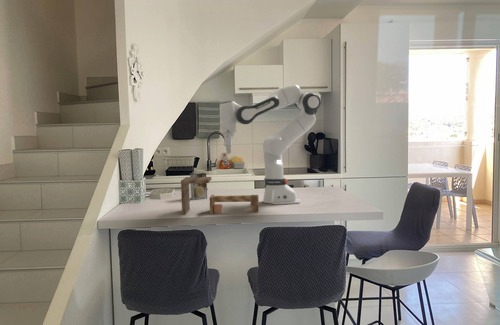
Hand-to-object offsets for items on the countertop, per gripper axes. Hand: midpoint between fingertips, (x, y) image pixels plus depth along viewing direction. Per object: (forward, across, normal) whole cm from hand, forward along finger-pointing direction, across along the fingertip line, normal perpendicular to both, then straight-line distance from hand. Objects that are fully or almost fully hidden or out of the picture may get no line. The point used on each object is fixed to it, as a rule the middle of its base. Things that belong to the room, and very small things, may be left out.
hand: (228, 153), depth 233 cm
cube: (+30, -20, +5) cm, 36 cm away
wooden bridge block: (+30, -20, -4) cm, 36 cm away
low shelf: (+30, -20, +16) cm, 39 cm away
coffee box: (+30, +22, +21) cm, 43 cm away
